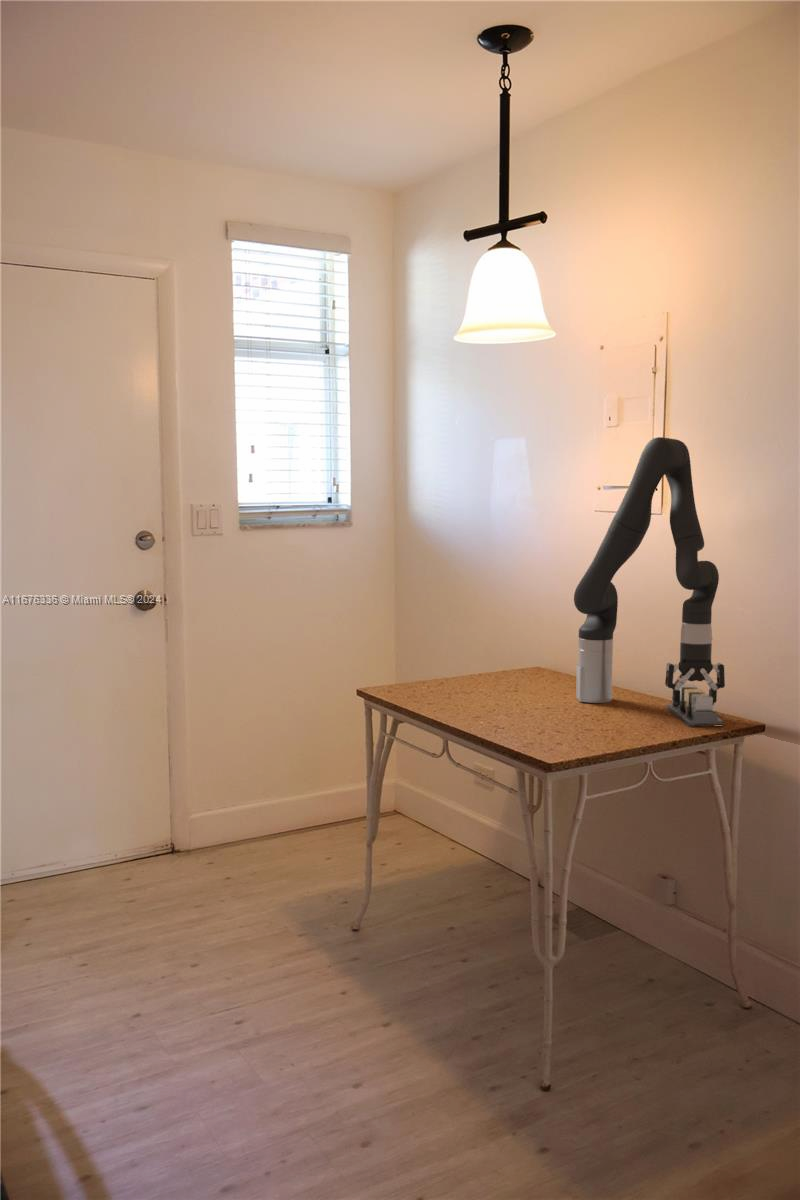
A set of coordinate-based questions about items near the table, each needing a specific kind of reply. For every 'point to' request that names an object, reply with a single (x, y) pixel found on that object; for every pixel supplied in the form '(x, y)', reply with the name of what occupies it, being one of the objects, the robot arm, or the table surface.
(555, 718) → the table surface
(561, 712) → the table surface
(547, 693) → the table surface
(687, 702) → the tan rectangular block
